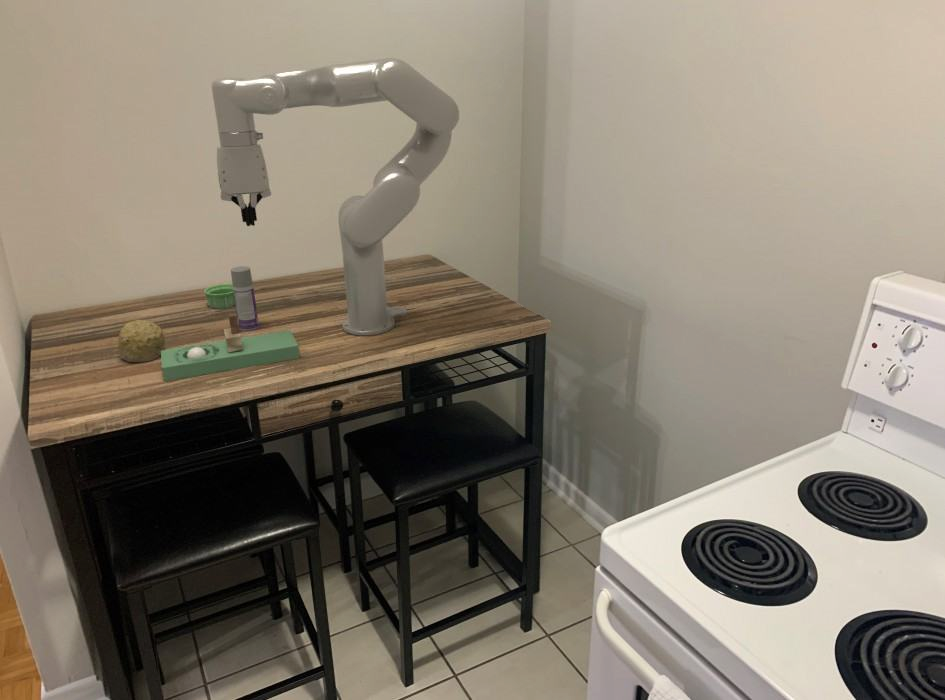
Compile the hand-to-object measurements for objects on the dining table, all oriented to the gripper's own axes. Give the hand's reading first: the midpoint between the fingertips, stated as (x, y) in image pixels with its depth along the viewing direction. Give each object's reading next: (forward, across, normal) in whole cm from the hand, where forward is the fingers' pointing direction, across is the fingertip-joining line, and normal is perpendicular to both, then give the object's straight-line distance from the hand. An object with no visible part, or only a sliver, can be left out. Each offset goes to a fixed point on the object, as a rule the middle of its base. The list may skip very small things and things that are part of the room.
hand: (250, 224), depth 163 cm
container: (+27, +3, -8) cm, 29 cm away
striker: (+24, +8, +11) cm, 27 cm away
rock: (+27, +27, -1) cm, 38 cm away
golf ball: (+25, +16, +11) cm, 31 cm away
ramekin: (+28, +7, -29) cm, 41 cm away
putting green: (+27, +9, +11) cm, 31 cm away
